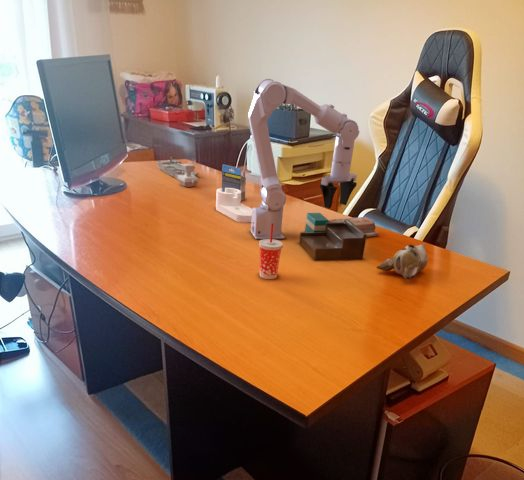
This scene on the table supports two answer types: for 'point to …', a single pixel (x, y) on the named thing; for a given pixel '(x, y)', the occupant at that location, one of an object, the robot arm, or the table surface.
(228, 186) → the label tape box
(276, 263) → the beverage cup
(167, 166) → the architectural model
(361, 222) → the packaged product
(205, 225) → the table surface
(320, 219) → the block
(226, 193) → the bracket
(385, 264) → the ceramic sculpture
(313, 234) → the step shelf
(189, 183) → the stamp
